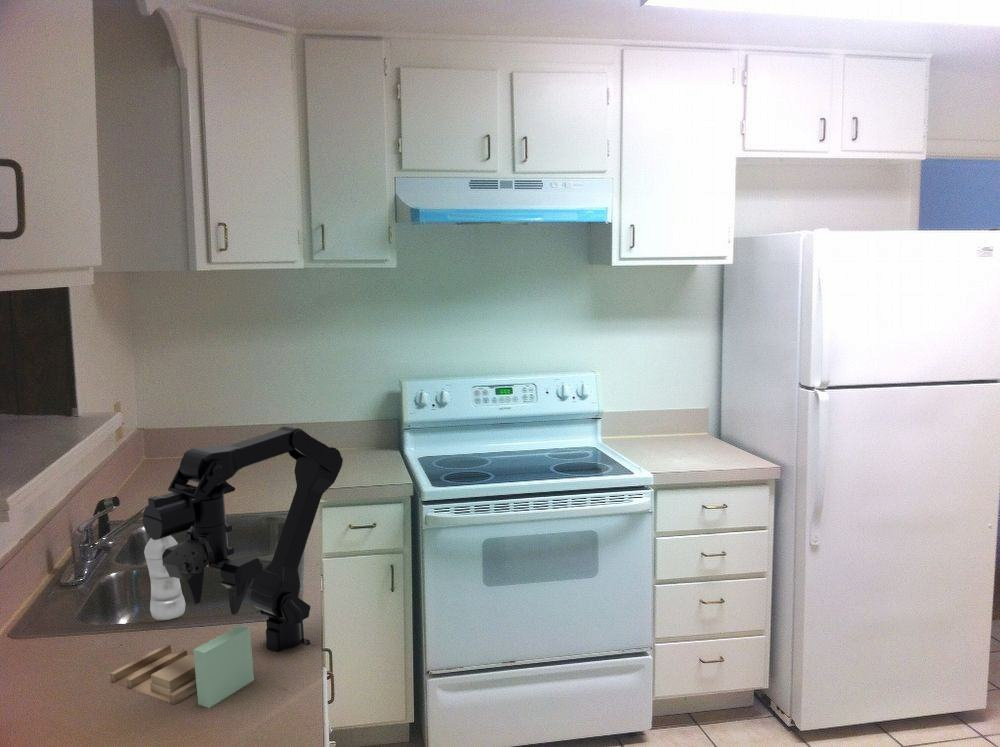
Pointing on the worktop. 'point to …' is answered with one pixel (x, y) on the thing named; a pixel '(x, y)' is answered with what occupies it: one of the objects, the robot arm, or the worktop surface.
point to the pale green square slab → (223, 665)
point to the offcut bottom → (166, 691)
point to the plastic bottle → (163, 582)
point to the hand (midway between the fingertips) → (215, 608)
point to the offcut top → (175, 672)
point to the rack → (142, 668)
